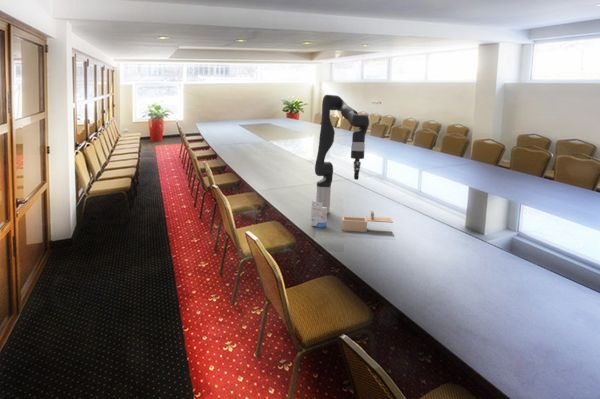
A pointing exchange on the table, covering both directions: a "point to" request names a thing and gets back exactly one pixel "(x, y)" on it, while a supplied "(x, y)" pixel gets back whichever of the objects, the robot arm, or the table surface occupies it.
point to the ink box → (318, 215)
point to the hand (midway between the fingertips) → (356, 178)
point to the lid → (378, 218)
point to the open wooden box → (354, 224)
